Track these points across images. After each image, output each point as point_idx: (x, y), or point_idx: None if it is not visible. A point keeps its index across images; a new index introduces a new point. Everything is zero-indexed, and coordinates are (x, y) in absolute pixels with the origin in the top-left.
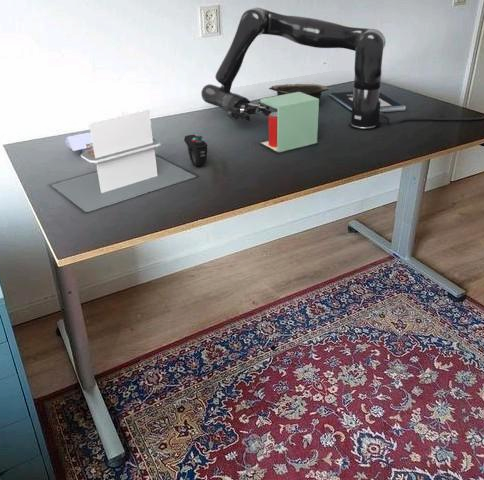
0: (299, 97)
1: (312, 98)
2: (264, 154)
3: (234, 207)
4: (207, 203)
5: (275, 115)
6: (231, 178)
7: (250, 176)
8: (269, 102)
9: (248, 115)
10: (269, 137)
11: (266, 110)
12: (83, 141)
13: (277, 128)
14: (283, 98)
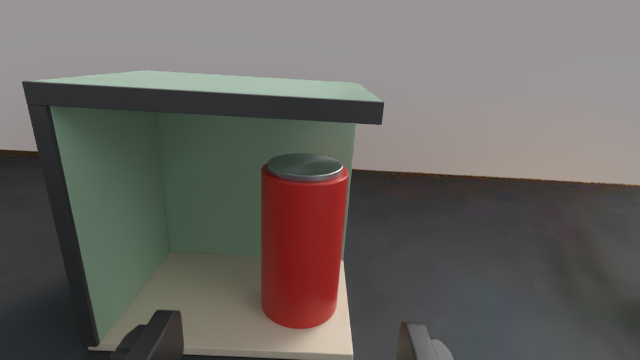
0: (177, 78)
1: (156, 72)
2: (391, 278)
3: (526, 181)
4: (582, 197)
5: (324, 159)
6: (533, 228)
7: (480, 218)
8: (364, 90)
9: (416, 322)
10: (339, 271)
11: (157, 350)
12: None
13: (350, 176)
14: (253, 85)
